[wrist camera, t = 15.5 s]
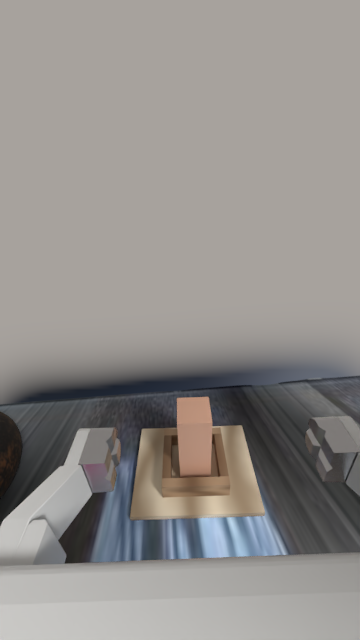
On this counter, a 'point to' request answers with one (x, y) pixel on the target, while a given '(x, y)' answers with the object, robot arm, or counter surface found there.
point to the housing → (194, 479)
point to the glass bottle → (8, 451)
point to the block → (194, 436)
